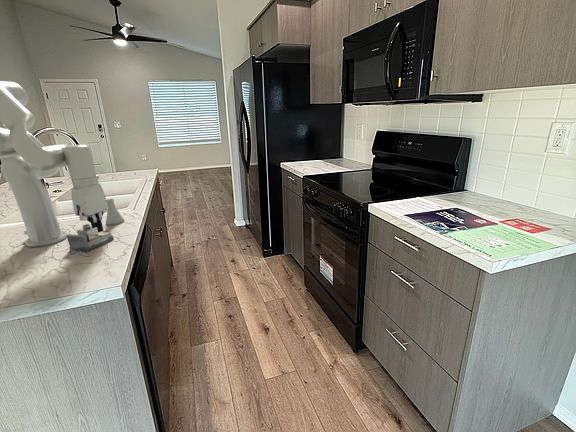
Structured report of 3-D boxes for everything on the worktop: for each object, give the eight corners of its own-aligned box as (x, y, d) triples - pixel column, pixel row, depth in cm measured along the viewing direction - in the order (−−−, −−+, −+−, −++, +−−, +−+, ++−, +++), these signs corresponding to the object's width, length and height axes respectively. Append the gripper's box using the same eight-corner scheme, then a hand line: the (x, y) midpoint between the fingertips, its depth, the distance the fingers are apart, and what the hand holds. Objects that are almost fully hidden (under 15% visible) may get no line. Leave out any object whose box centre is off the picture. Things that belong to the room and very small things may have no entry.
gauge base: (96, 237, 116) (93, 223, 115) (113, 239, 114) (110, 225, 112) (70, 250, 107) (65, 235, 105) (88, 252, 104) (83, 237, 102)
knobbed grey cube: (90, 238, 112) (85, 222, 110) (104, 240, 110) (100, 224, 108) (80, 243, 108) (75, 226, 106) (95, 245, 107) (90, 228, 104)
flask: (102, 222, 132) (97, 200, 128) (120, 218, 136) (115, 196, 133) (109, 226, 127) (103, 203, 123) (127, 221, 132) (122, 199, 128)
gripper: (94, 176, 114) (106, 223, 120) (56, 187, 100) (71, 238, 107) (111, 177, 112) (122, 224, 118) (74, 187, 99) (89, 240, 105)
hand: (98, 231), depth 112 cm, fingers closed
